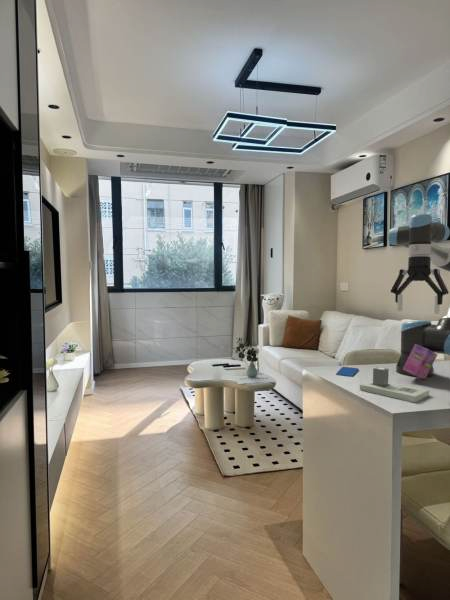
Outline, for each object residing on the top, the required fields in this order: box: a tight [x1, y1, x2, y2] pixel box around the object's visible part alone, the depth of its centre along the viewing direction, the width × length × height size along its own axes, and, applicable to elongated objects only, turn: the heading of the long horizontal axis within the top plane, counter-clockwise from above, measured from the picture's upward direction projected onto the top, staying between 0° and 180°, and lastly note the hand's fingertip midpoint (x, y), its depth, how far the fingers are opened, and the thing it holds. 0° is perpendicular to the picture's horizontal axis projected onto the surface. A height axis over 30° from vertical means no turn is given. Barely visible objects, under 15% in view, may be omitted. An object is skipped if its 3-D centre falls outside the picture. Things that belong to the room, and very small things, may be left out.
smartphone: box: [335, 366, 359, 378], centre depth 174 cm, size 7×1×15 cm
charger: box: [372, 366, 389, 387], centre depth 146 cm, size 4×4×8 cm
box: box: [403, 344, 439, 380], centre depth 160 cm, size 10×6×12 cm, turn 131°
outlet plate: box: [359, 379, 430, 403], centre depth 142 cm, size 12×20×2 cm, turn 42°
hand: (417, 312), depth 149 cm, fingers open, 13 cm apart
